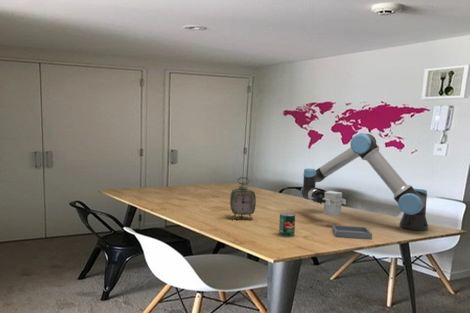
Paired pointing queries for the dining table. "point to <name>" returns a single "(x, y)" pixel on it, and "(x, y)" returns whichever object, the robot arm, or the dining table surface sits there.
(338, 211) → the supplement box
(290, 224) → the canned tomato
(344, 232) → the gray tray
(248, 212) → the tabletop clock
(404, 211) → the robot arm
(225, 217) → the dining table surface
